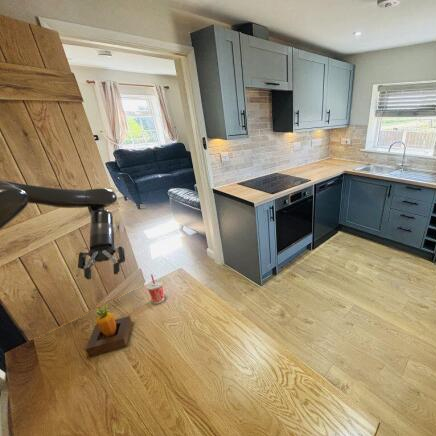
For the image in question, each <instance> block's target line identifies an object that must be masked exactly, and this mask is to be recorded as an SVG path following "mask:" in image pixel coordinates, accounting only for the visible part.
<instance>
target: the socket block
mask: <svg viewBox="0 0 436 436" xmlns="http://www.w3.org/2000/svg"><path fill="white" fill-rule="evenodd" d="M114 319H115V318H114ZM115 322H116V333H117V334H116V335H115V336H113V337H109V338H108V337H106V336H105V335H104V334H103V333H102V332H101V331H100V329H99V327H98V325H97V323H96V324H95V325H94V327H93V329H92V332H91V335H90V337H89V339H88V342H87V344H86V346H85V352H86V353H87V355H88V358H91V357H95V356H99V355H101V354H104V353H109V352H111V351H115V350H119V349H123V348H126V347H127V346H128V342H129V338H130V334H131V330H132V326H133V321H132V319H131V316H130V315H128V316H125V317H120V318H116V319H115ZM105 337H106V338H105Z"/></svg>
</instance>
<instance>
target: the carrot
mask: <svg viewBox="0 0 436 436" xmlns="http://www.w3.org/2000/svg"><path fill="white" fill-rule="evenodd" d="M108 306H109V305H108V304H106V305H105V306H104V311H103V310H102V309H101V308H97V309H96V311H95V313H96V314H97V315H98V316H97V318H96V322H95V323H96V324H97V325H98V327H99V329H100V331H101V332H102V333H103V334H104V335H105V336H104V337H106V338H109V337H113V336H116V335H117V334H116V333H117V332H116V322H115V316H114V314H113V313H112V312H110V309H108Z"/></svg>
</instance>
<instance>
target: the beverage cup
mask: <svg viewBox="0 0 436 436" xmlns="http://www.w3.org/2000/svg"><path fill="white" fill-rule="evenodd" d="M150 276H151V281H149V282H147V284H146V285H145V287H146V290H147V291H148V294H149V296H150V298H151V300H152V303H153V304H154V305H157V304H161V303H163V302H164V300H165V294H164V287H163V281H162V280H161V279H154V275H153V274H150Z"/></svg>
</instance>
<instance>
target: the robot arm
mask: <svg viewBox="0 0 436 436" xmlns="http://www.w3.org/2000/svg"><path fill="white" fill-rule="evenodd" d="M117 199H118V196H117V194H116V192H114V190H111V189H108V188H90V189H77V188H60V187H50V186H49V187H48V186H39V185H32V184H25V183H19V182H13V181H8V180H4V179H0V231H1V230H3V228H5V227H6V226H7V225H8V224H10V223H11V222H12V221H13V220H15V219H16V218H17V217H18V216H19V215H21V214H22V213H23V212H24V211H25V210H26V208H27V207H28V205H29V204H33V205H35V204H36V205H41V206H48V207H52V208H53V207H54V208H60V209H83V208H87V210H88V213H89V216H90V229H89V251H88V252H82V251H81V252H79V253H78V261H77V268H78V269H80V270H83V272H84V273H83V276H84V278H85V279H86V280H91V279H92V268H93V266H95V265H96V264H97V263H102V262H108V261H112V262H113V266H112V267H113V274H114V275H118V274H119V273H120V271H121V270H120V269H121V267H120V266H121V264H123V263H125V262H126V256H125V255H126V253H125V248H124V247H123V246H118V247H115V230H114V218H113V213H112V212H111V211H109V210H106V209H105V208H108V207H110V206H112V205H114V204H115V203H116V202H117ZM115 253H117V254H118V259H117V258H116V257H115V256H114V254H115ZM88 257H89V259H88ZM87 259H88V260H87Z"/></svg>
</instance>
